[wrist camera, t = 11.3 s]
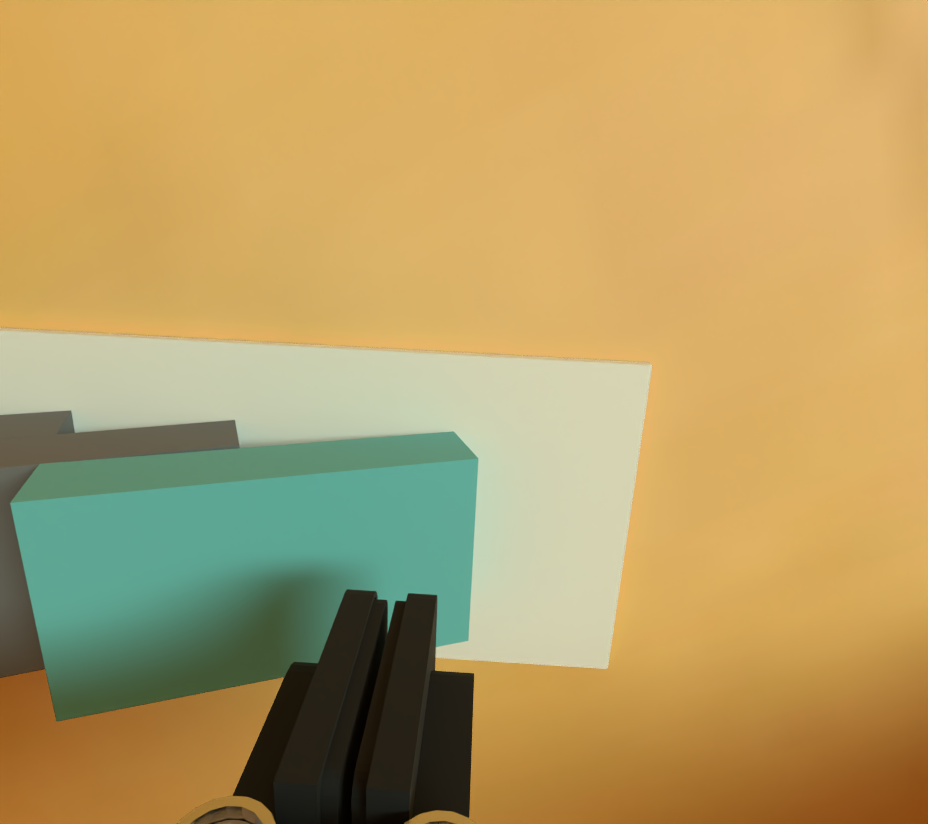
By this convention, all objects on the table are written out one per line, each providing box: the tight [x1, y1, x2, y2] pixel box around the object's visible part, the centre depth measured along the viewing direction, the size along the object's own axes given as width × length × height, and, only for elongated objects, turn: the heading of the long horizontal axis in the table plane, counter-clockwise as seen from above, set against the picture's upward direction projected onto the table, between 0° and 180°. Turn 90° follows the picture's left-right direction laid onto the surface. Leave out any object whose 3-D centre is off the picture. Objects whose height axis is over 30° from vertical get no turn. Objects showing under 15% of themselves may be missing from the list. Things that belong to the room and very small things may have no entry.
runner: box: [0, 328, 652, 669], centre depth 17 cm, size 30×9×1 cm, turn 87°
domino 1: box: [0, 420, 240, 678], centre depth 14 cm, size 2×5×9 cm
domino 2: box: [10, 431, 479, 721], centre depth 14 cm, size 2×5×9 cm
